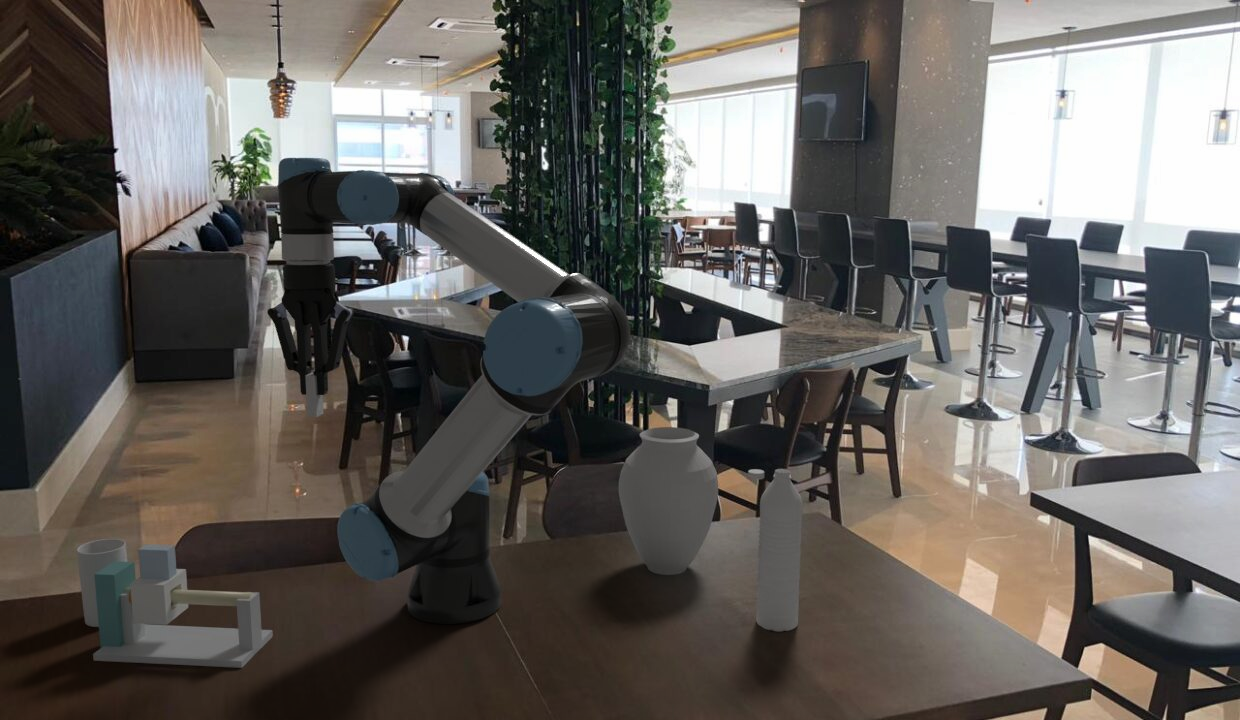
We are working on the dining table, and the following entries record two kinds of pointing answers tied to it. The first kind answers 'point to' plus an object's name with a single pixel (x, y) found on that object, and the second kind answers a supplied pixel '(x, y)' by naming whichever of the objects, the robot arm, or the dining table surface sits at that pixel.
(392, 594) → the dining table surface
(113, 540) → the mug
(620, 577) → the dining table surface
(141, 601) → the grey stepped block
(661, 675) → the dining table surface
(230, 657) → the grey vise fixture
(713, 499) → the vase
